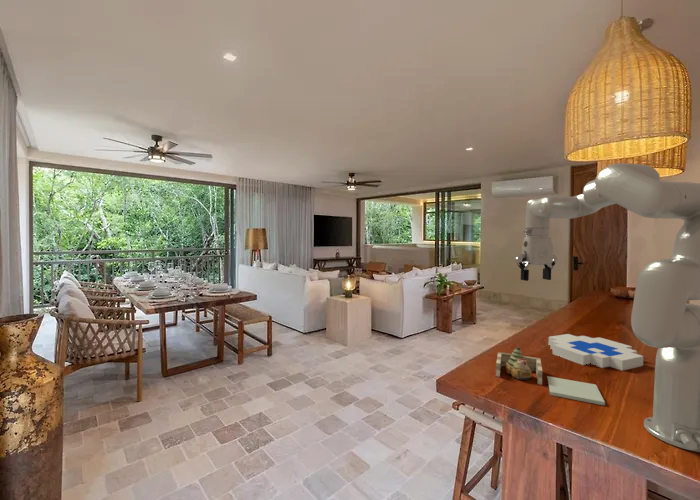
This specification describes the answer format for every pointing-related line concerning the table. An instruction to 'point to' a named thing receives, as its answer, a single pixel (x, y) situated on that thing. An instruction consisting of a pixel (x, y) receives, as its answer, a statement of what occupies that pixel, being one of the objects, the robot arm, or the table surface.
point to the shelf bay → (531, 361)
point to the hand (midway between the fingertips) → (535, 279)
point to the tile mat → (575, 390)
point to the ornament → (518, 365)
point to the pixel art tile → (595, 351)
